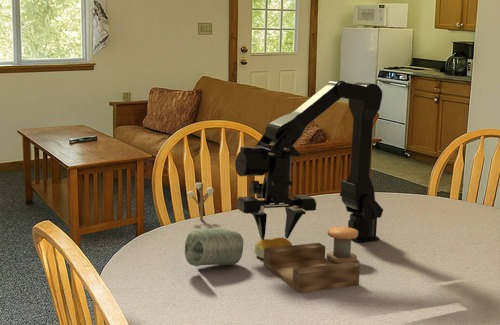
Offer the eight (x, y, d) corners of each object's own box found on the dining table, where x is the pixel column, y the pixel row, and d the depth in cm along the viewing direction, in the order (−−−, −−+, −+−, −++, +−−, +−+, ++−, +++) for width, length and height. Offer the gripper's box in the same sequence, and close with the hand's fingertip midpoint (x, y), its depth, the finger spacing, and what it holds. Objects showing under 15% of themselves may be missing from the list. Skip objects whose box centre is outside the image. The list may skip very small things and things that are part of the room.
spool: (188, 268, 141) (204, 223, 141) (171, 255, 149) (187, 213, 149) (241, 282, 148) (257, 240, 148) (222, 269, 156) (237, 229, 156)
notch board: (318, 259, 157) (319, 242, 156) (358, 284, 140) (359, 266, 140) (263, 265, 152) (264, 248, 151) (299, 292, 135) (299, 273, 134)
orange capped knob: (346, 253, 161) (348, 225, 160) (362, 262, 155) (363, 233, 154) (321, 256, 159) (322, 228, 158) (335, 265, 152) (337, 236, 151)
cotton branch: (185, 222, 187) (185, 180, 185) (205, 219, 191) (205, 177, 189) (198, 228, 181) (198, 184, 179) (218, 225, 185) (219, 182, 183)
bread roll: (299, 255, 157) (299, 239, 157) (267, 262, 153) (267, 246, 152) (280, 245, 164) (280, 230, 164) (248, 252, 160) (248, 236, 159)
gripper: (298, 168, 169) (294, 228, 172) (229, 169, 162) (226, 231, 164) (319, 176, 159) (315, 240, 161) (246, 178, 152) (243, 244, 154)
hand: (274, 238), depth 161 cm, fingers open, 6 cm apart
